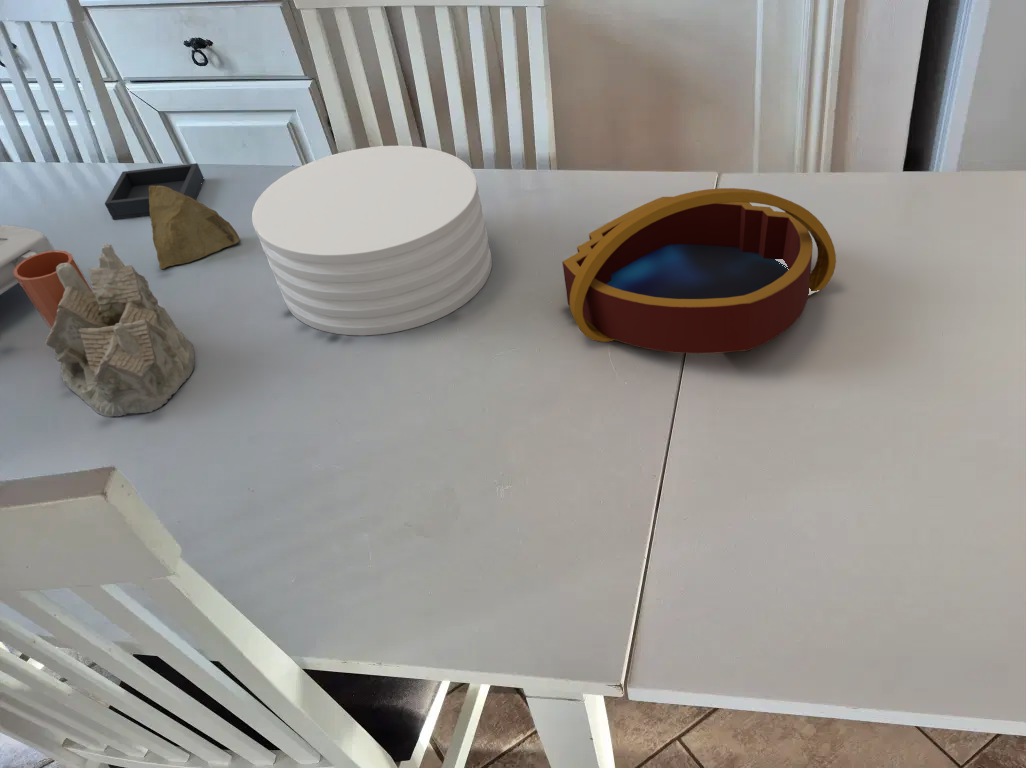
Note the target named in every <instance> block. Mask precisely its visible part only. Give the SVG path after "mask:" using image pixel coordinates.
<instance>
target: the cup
mask: <svg viewBox="0 0 1026 768" xmlns="http://www.w3.org/2000/svg"><path fill="white" fill-rule="evenodd" d="M61 263H69V264H71V265H72V266H73V267H74V268H75V270H76V271H77V272H78V274H79V275H80V277H81V278H82V280H83V281H84V282H85V284H86V285H87V287H88V289H89V290H90V292H93V293H94V291H93V287H92V286H91V284H90V283H89V281H88V280H87V278H86V276H85V274H84V273H83V271H82V269H81V268H80V266H79V264H78V263H77V261H76V259H75V258H74V256H73V255H72V253H70V252H68V251H66V250H59V249H55V250H54V251H46V252H42V253H39V254H35V255H33V256H31V257H29V258H27V259H25V260H23V261H22V262H21V263H19V264H18V265H17V266H16V268H15V269H14V276H15V278H16V279H17V280H18V282H19V283H18V284H19V285H20V286H21V288H22V289H23V291H24V293H25V294H26V295H27V297H28V299H29V300H30V302H31V303H32V305H33V306H34V308H35V309H36V311H37V312H38V313H39V315H40V316H41V318H42V319H43V321H44V323H45V324H46V325H47V328H49V330H50V331H51V328H52V326H53V325H54V323H55V318H56V316H57V310H58V305H59V303H60V301H61V299H62V298H63V294H64V291H65V288H64V286H63V284H62V283H61V282H60V280H59V277H58V275H57V272H56V267H57V266H58V265H59V264H61ZM94 294H95V293H94Z"/></svg>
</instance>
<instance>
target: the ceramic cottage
mask: <svg viewBox="0 0 1026 768" xmlns="http://www.w3.org/2000/svg"><path fill="white" fill-rule="evenodd" d="M98 261H99V266H98V267H90V268H88V271H89V277H90V283H91V285H92V286H91V287H92V289H93V291H94V293H95V294H94V293H93V292H90V290H89V289H88V287H87V285H86V284H85V282H84V281H83V280H82V278H81V277H80V275H79V274H78V272H77V271H76V270H75V268H74V267H73V266H72V265H71V264H69V263H61V264H59V265H58V266H57V267H56V272H57V275H58V277H59V280H60V282H61V283H62V284H63V286H64V288H65V291H64V294H63V298H62V299H61V301H60V303H59V305H58V310H57V316H56V318H55V323H54V325H53V326H52V328H51V330H50V331H49V333H48V336H47V337H46V338H45V345H46V346H47V347H50V348H52V349H53V351H54V353H55V354H56V355H55V357H54V358H55V360H56V361H57V362H59V363H60V364H59V368H60V371H61V372H60V374H61V376H62V380H63V383H64V385H65V386H66V387H67V388H68V389H69V390H70V391H72V392H73V393H75V395H77V396H78V397H80V399H81V400H83V401H84V402H85V403H86V404H87V405H88V406H89V407H90V408H91V409H92V410H93V411H95V412H96V413H97V414H98V415H101V416H103V417H106V418H107V417H108V418H109V417H110V418H113V417H119V416H120V417H122V416H127V414H135V415H138V414H142V413H143V414H145V413H146V414H147V413H148V412H149V413H153V412H154V411H156V410H158V409H159V408H162V406H164V404H166V403H168V400H169V399H171V398H172V397H173V396H172V395H175V393H177V392H178V390H179V389H180V387H181V386H182V385H183V384H184V383H185V382H186V381H187V380H188V379H189V378H190V377H191V376H190V375H192V372H193V370H194V368H195V363H196V362H195V349H194V346H193V344H192V342H191V341H189V340H188V339H187V337H186V336H185V334H184V333H182V331H180V329H179V328H177V326H176V324H175V322H174V321H173V319H172V317H171V316H170V314H169V312H168V311H167V310H166V308H164V307H163V306H161V305H159V303H158V302H159V301H158V299H157V297H155V296H154V294H153V293H152V291H151V289H150V287H149V281H148V280H147V278H146V277H145V276H144V275H141V274H140V273H139V272H138V271H137V270H136V269H135V268H134V266H133V264H129V265H125V264H124V262H123V260H122V259H121V258H120V257H119V256H118V254H116V252H115V250H114V248H113V246H112V244H108V243H103V244H102V246H101V254H100V255H98Z"/></svg>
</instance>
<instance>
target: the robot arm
mask: <svg viewBox="0 0 1026 768" xmlns="http://www.w3.org/2000/svg"><path fill="white" fill-rule="evenodd" d="M54 250H56V249H55V247H54V246H53V244H52V242H51V241H50V239H49V238H48V237H47V236H46V234H45V233H44V232H41V231H39V230H36V229H32V228H27V227H22V226H18V225H17V226H16V225H9V224H8V225H7V224H4V225H0V295H2V294H3V293H5V292H7V291H8V290H10V289H11V288H13V287H15V286H16V285H17V284H20V283H19V282H18V280H17V279H16V278H15V276H14V269H15V268H16V266H17V265H18V264H19V263H21V262H22V261H23V260H25V259H27V258H29V257H31V256H33V255H35V254H39V253H42V252H46V251H54Z"/></svg>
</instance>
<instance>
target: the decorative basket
mask: <svg viewBox="0 0 1026 768" xmlns="http://www.w3.org/2000/svg"><path fill="white" fill-rule="evenodd" d="M752 204H759V205H752ZM760 205H766V206H760ZM772 207H774V208H778V209H780V210H781V211H778V210H773V208H772ZM588 236H589V238H588V240H587V241H585V242H584V243H582V244H579V245H578V246H577V248H576V249H577V252H576V253H574V254H573V255H571V256H569V257H568V258H566V259H564V260H562V262H561V263H562V269H563V276H564V283H565V284H564V285H565V291H566V300H567V305H568V306H569V310H570V313H571V315H572V318H573V319H574V321H575V323H576V325H577V327H578V329H579V331H581V333H582V334H583V335H584V336H585V337H587V338H588V339H590V340H592V341H596V342H601V343H602V342H603V343H607V342H608V343H609V342H614V341H613V340H615V341H618V342H621V343H623V344H627V345H629V346H630V345H631V346H634V347H637V348H638V347H639V348H642V349H647V350H652V351H659V352H666V353H667V352H668V353H679V354H721V353H731V352H741V351H749V350H752V349H755V348H758V347H760V346H762V345H764V344H766V343H768V342H770V341H771V340H773V339H775V338H776V337H778V336H780V335H782V334H783V333H785V332H786V330H789V328H790V327H792V326H793V325H794V324H795V323H796V321H797V320H798V319H799V318H800V317H801V315H802V314H803V312H804V310H805V307H806V305H807V302H808V298H809V296H808V294H809V288H810V289H811V291H817V290H820V291H822V290H823V289H824V288H826V286H827V285H828V283H829V282H830V281H831V279H832V278H833V275H834V272H835V270H836V265H837V254H836V250H835V245H834V243H833V240H832V237H831V235H830V234H829V232H828V230H827V229H826V227H825V226H824V225H823V223H822V222H821V221H820V220H819V218H817V216H816V215H814V214H813V213H811V212H810V211H809V210H808V209H806V208H805V207H803V206H801V205H800V204H798V203H796V202H793V201H792V200H788V199H787V198H783V197H781V196H778V195H776V194H773V193H768V192H765V191H761V190H755V189H749V188H735V187H722V188H709V189H708V188H707V189H701V190H694V191H690V192H685V193H682V194H677V195H674V196H661V197H657V198H655V199H653V200H650V201H649V202H647V203H646V202H645V203H644V204H642V205H640V206H638V207H636V208H634V209H632V210H630V211H628V212H627V213H624V214H622V215H620V216H618V217H617V218H615V219H612V220H611V221H609V222H607V223H606V224H603V225H602V226H600V227H599V228H598V227H597V229H595V230H593V231H591V232H589V233H588ZM813 240H814V242H815V245H816V248H817V257H816V262H815V265H814V267H813V269H812V260H813V249H814V244H813ZM775 259H783V260H784V261H785V263H786V264H787V266H788V267H786V266H785V265H783V264H781V263H780V262H778V261H776V260H775ZM779 263H780V264H779ZM782 265H783V266H782ZM784 266H785V267H786V268H785V267H784ZM787 268H788V269H789V270H788V269H787ZM811 270H812V271H811ZM821 289H822V290H821Z"/></svg>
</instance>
